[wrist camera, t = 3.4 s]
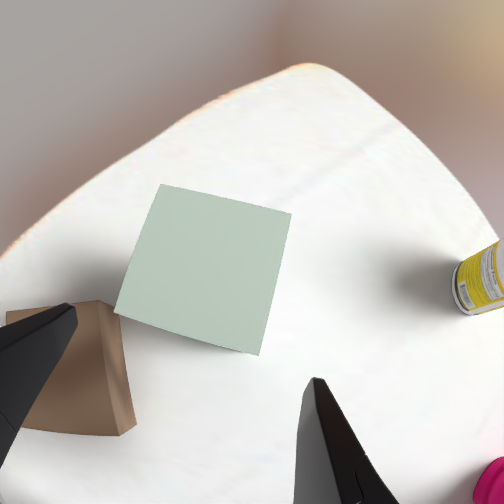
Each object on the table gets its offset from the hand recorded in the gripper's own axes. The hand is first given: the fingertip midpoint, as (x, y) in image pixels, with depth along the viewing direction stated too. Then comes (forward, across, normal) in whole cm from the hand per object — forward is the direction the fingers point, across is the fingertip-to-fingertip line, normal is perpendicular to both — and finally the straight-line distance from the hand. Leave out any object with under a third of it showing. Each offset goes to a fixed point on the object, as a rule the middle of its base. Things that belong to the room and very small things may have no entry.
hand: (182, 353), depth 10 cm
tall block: (+10, 0, +6) cm, 12 cm away
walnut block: (+5, +10, +12) cm, 16 cm away
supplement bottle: (+15, -22, +1) cm, 26 cm away
